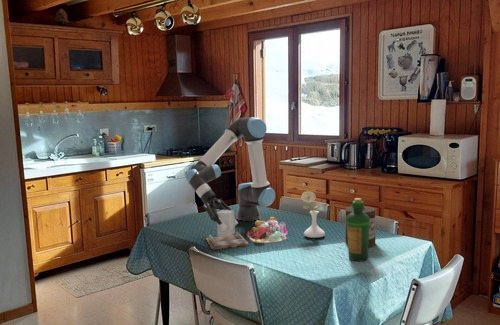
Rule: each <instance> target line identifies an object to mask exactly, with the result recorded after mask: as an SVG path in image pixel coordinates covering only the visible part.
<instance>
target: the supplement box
mask: <svg viewBox="0 0 500 325" xmlns="http://www.w3.org/2000/svg"><path fill="white" fill-rule="evenodd" d="M217 214H218V218H219V217H220V218H221V219H222V221H223V222H224V223H225V224H226V226H227V228H226V229H225V230H223V229H222V228H221V226H220V225H219V224H218V223H217V222H216V226H217V227H216V228H217V237H220V236H226V237H231V236H232V235H236V228H235V227H236V226H235V223H234V218H235V210H234V209H231V210H220V209H219V211H217Z"/></svg>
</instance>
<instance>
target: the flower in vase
mask: <svg viewBox="0 0 500 325" xmlns="http://www.w3.org/2000/svg"><path fill="white" fill-rule="evenodd" d="M300 198H301V200H302V201H303V202H304V203H305V202H306V203H311V202H314V201H315V200H316V198H317V196H316V194H315V192H314V191H313V192H312V191H310V190H308V191H304V192H302V194H301V196H300ZM317 208H319V205H316V206H313V207H311V206H310V204H308V205H303V206H302V207H301V209H303V210H309V209H310V211H309V214H310V215H311V225H310V226H309V227H308V228H306V230H304V232H303V235H304V237H307V238H311V239H313V238H314V239H318V238H322V237H325V235H326V233H325V231H324V230H323V229H322V228H321V227H319V225H318V224H317V218H318V214H319V212H320V211H318V210H316V209H317Z"/></svg>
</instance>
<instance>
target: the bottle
mask: <svg viewBox="0 0 500 325" xmlns="http://www.w3.org/2000/svg"><path fill="white" fill-rule="evenodd" d="M363 203H364V200H362V198H360V197H355V198H354V200H353V201H352V204H351V206H352V207H353V210H354V212H352V213H350V214H349V215H348V216H347V218H346V217H345V220H346V219H347V235H348V245H347V246H348V247H347V248H348V258H349V259H350V260H352V261H355V262H362V261H366V260H367V259H368V257H369V247H368V244H369V226H370V218H369V217H368V215H367V214H365V213H364V212H362V211H363V207H364V206H365V204H363Z"/></svg>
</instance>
